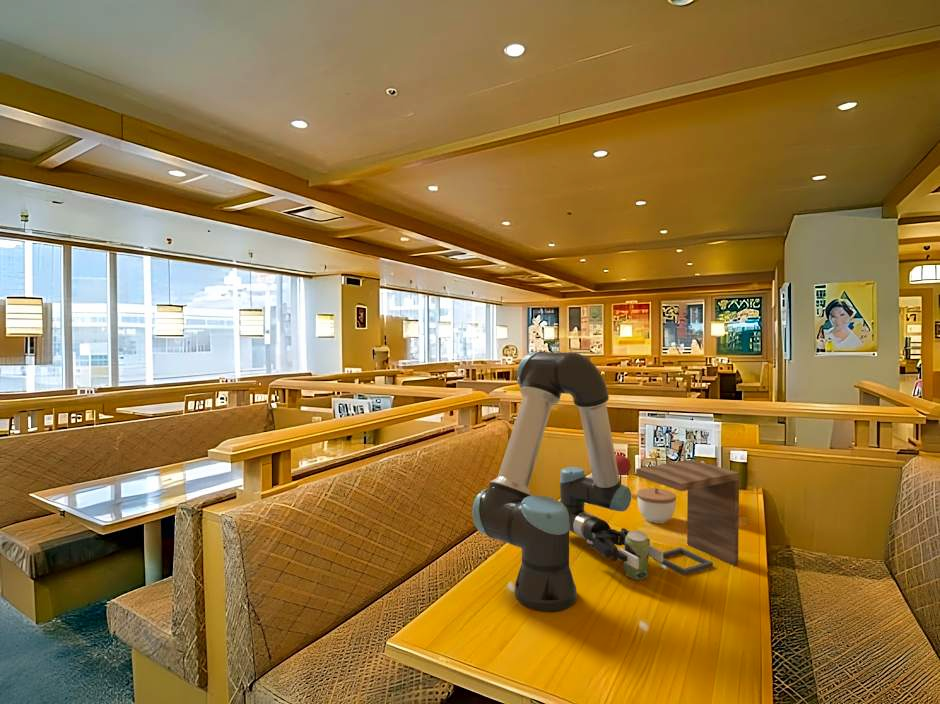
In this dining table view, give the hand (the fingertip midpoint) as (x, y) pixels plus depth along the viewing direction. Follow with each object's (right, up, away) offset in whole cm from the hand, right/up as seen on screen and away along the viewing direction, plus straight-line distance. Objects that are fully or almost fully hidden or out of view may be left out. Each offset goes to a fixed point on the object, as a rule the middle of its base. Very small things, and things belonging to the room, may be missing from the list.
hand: (650, 560), depth 130 cm
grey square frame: (+14, -6, +13) cm, 19 cm away
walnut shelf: (+15, -6, +13) cm, 21 cm away
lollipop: (+14, -3, +74) cm, 75 cm away
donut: (+2, -4, +65) cm, 66 cm away
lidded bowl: (+18, -5, +45) cm, 49 cm away
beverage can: (-2, -7, +5) cm, 8 cm away
